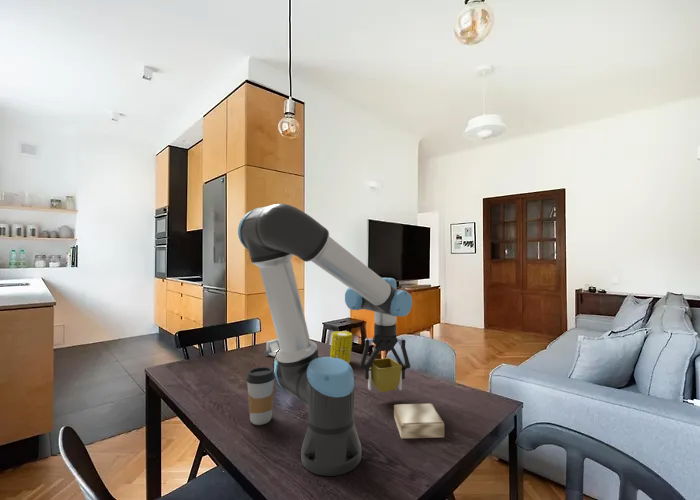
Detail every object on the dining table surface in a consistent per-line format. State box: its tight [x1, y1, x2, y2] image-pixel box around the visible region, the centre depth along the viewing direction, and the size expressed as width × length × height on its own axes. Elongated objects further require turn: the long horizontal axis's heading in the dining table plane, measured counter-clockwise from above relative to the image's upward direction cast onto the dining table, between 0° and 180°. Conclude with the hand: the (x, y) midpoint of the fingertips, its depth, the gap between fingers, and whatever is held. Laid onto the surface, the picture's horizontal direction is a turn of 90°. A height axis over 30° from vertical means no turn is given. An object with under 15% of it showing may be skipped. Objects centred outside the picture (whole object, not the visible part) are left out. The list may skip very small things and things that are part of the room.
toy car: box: [263, 338, 280, 357], centre depth 164 cm, size 18×10×12 cm
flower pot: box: [370, 357, 402, 393], centre depth 115 cm, size 9×9×9 cm
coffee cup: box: [246, 366, 275, 426], centre depth 103 cm, size 8×8×15 cm
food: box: [329, 330, 354, 365], centre depth 153 cm, size 15×12×10 cm
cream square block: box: [393, 403, 445, 439], centre depth 99 cm, size 12×12×4 cm
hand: (384, 388), depth 115 cm, fingers closed on flower pot, 10 cm apart
